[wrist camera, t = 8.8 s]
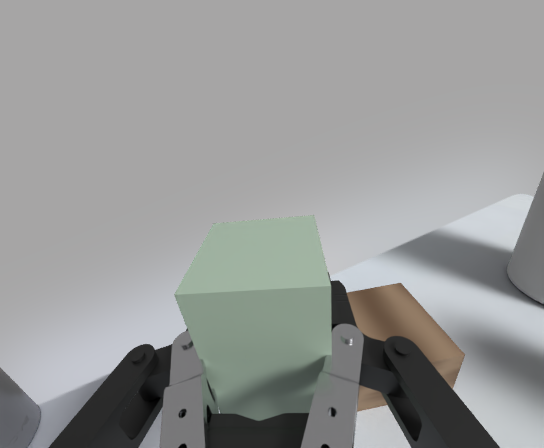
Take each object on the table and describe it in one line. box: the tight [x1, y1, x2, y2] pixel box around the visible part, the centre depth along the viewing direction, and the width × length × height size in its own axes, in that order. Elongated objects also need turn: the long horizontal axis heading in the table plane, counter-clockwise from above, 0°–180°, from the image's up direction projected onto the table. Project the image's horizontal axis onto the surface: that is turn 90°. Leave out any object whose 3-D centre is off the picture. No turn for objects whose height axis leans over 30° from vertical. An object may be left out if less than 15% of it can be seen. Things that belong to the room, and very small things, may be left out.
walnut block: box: [347, 283, 465, 411], centre depth 28 cm, size 10×10×6 cm
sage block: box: [174, 215, 332, 421], centre depth 12 cm, size 5×5×11 cm
